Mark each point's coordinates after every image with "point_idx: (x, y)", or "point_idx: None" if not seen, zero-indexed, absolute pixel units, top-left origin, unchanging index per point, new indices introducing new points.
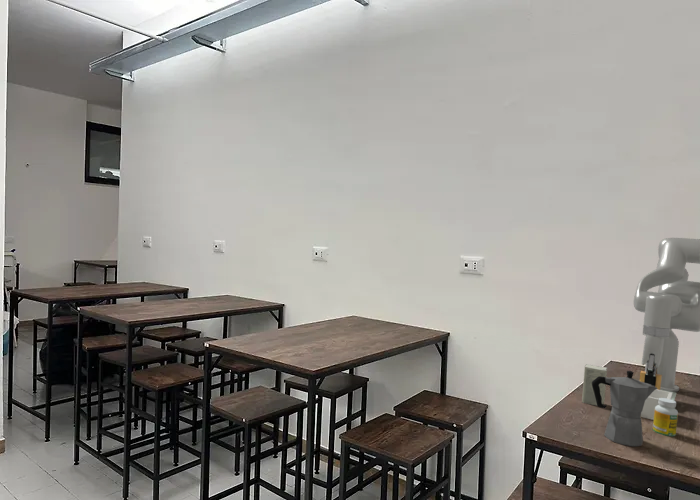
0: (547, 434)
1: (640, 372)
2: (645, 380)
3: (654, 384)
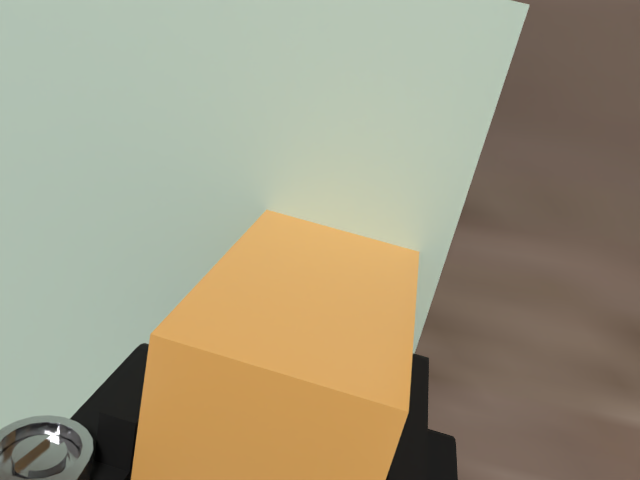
0: None
1: (151, 337)
2: None
3: None
